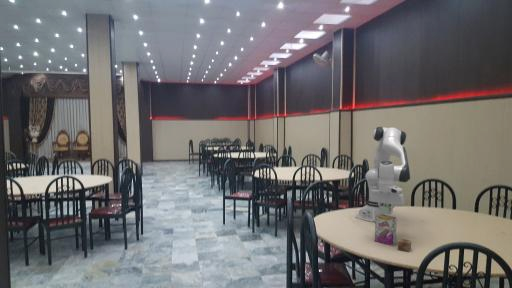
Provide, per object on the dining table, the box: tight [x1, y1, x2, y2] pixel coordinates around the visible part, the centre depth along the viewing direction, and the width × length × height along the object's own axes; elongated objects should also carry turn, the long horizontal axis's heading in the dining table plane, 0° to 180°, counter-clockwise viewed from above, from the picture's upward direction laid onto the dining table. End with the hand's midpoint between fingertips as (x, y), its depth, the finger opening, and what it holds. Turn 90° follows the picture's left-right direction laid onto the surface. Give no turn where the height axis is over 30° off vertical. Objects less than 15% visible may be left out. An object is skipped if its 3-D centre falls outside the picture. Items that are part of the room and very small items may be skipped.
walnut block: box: [397, 238, 412, 253], centre depth 198 cm, size 6×6×5 cm
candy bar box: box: [374, 214, 397, 246], centre depth 209 cm, size 11×5×16 cm, turn 48°
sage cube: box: [381, 204, 392, 216], centre depth 208 cm, size 4×4×4 cm
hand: (386, 210), depth 209 cm, fingers closed on sage cube, 4 cm apart
